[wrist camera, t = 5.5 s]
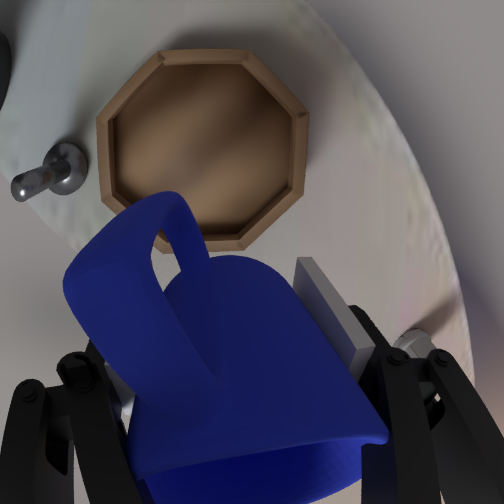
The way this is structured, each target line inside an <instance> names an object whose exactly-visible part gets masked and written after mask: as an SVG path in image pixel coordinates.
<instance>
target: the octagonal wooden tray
mask: <svg viewBox="0 0 504 504" xmlns="http://www.w3.org/2000/svg"><path fill="white" fill-rule="evenodd" d="M308 117H309V112H308V111H307V110H306V109H305V107H304V106H303V105H302V104H301V103H300V102H299V101H298V99H297V98H296V97H295V96H294V95H293V94H292V93H291V92H290V91H289V90H288V88H287V87H286V86H285V85H284V84H283V83H282V82H281V81H280V80H279V79H278V78H277V77H276V76H275V75H274V74H273V73H272V72H271V71H270V70H269V69H268V68H267V67H266V66H265V65H264V64H263V63H262V62H261V61H260V60H259V59H258V58H257V57H256V56H255V55H254V54H253V53H252V52H251V51H250V50H245V49H182V50H167V51H158V52H157V53H156V54H154V55H153V56H152V57H151V58H150V59H149V60H148V61H147V62H146V63H145V64H144V65H143V66H142V67H141V68H140V69H139V70H138V71H137V72H136V73H135V74H134V75H133V76H132V77H131V78H130V79H129V80H128V81H127V83H126V84H125V85H124V86H123V87H122V88H121V89H120V90H119V91H118V92H117V94H116V95H115V96H114V97H113V98H112V99H111V100H110V102H109V103H108V104H107V105H106V106H105V107H104V109H103V110H102V111H101V112H100V114H99V115H98V116H97V118H96V127H97V154H98V169H99V181H100V192H101V201H102V202H103V203H104V204H105V205H106V206H107V207H108V208H110V209H111V210H112V211H113V212H114V213H115V214H116V215H118V214H119V213H120V212H122V211H123V210H125V209H126V208H128V207H129V206H131V205H132V204H134V203H136V202H138V201H139V200H141V199H143V198H145V197H148V196H150V195H153V194H156V193H159V192H163V191H173V192H177V193H179V194H180V195H181V196H182V197H183V198H184V199H185V201H186V202H187V204H188V205H189V207H190V209H191V211H192V213H193V215H194V217H195V220H196V222H197V224H198V226H199V229H200V231H201V234H202V236H203V239H204V242H205V245H206V248H207V250H208V252H220V251H244V250H245V249H246V248H247V247H248V246H249V245H250V244H251V243H252V242H253V241H255V240H256V239H257V238H258V237H259V236H260V235H261V234H262V233H263V232H264V231H265V230H266V229H267V228H268V227H269V226H271V225H272V224H273V223H274V222H275V221H276V220H277V219H278V218H279V217H280V216H281V215H282V214H283V213H284V212H286V211H287V210H288V209H289V208H290V207H291V206H292V205H293V204H294V203H295V202H296V201H297V200H298V199H299V198H301V197H302V196H303V194H304V183H305V169H306V154H307V137H308ZM153 246H154V247H155V248H156V249H158V250H159V251H160V252H161V253H163V254H170V253H174V252H173V250H172V247H171V245H170V243H169V241H168V239H167V237H166V235H165V234H164V232H163V230H162V229H161V227H160V229H159V231H158V234H157V236H156V238H155V241H154V244H153Z"/></svg>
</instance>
